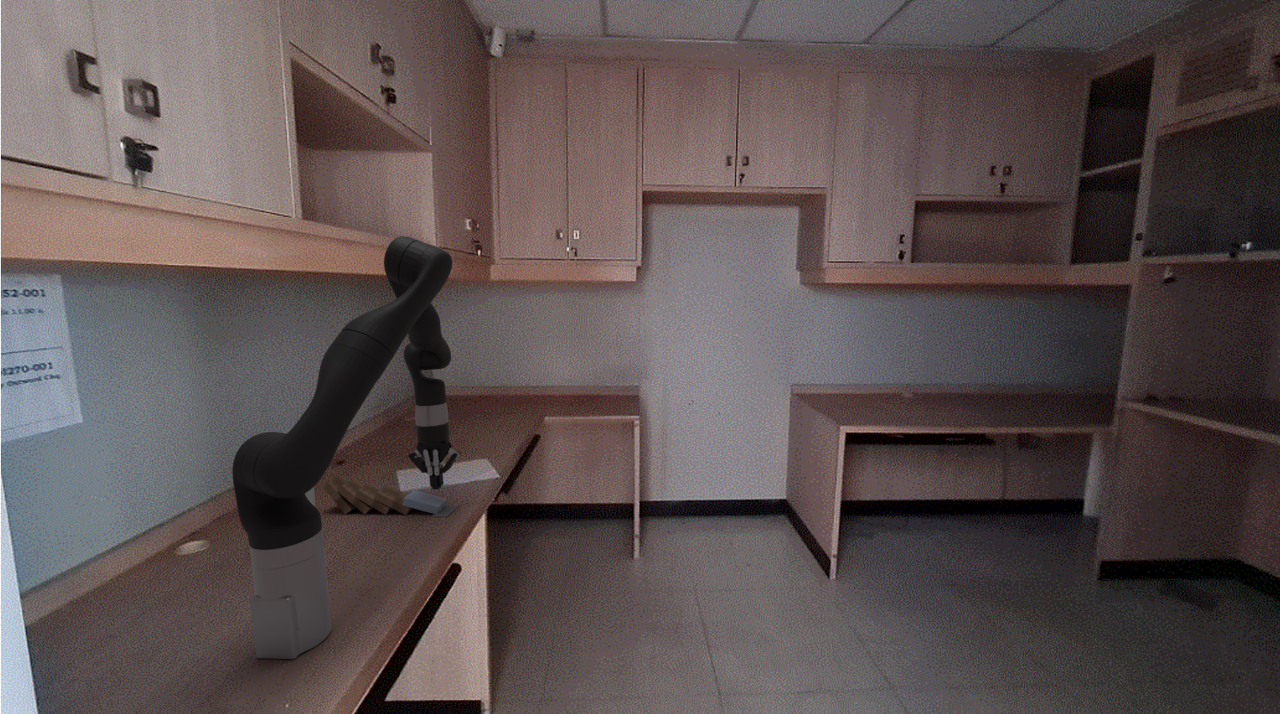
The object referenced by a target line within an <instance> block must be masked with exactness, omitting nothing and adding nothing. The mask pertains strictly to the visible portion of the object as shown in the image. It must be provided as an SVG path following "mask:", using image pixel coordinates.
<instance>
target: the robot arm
mask: <svg viewBox="0 0 1280 714" xmlns="http://www.w3.org/2000/svg"><path fill="white" fill-rule="evenodd" d="M383 268H384V269H383V270H384V273H385V276H386V277H387V278H386V279H387V281H388V283H389V285H390V287H391V289H392V291H393V293H394V296H395V297H396V298H395V299H394V300H392V301H390V302H389V303H386V304H384V305H382V306H379V307H377V308H374V309H371V310H370V311H367V312H364V313H362V314H361V315H359V316H357V317H355V318H353V319H352V320H350V321H349V322H347V324H345V326H343V328H342V329H341V330H340V332H339V333H338V334H337V335H336V337H335V338H334V340H333V341H332V342H331V344H330V345H329V347H328V348H327V349H326V351H325V352H324V354H323V357H322V359H321V361H320V366H319V370H318V376H317V381H316V382H317V383H316V387H315V388H316V389H315V392H314V395H313V397H312V399H311V402H309V405H308V406H307V407H306V409H305V411H304V412H303V414H301V416H300V418H299V419H298V420H297V422H296V423H295V424H294V425H293V427H292V428H291V429H290V430H289V431H288V432H287V433H286V432H280V431H279V432H278V431H267V432H261V433H257V434H256V435H253V436H251V437H249V438H248V439H246V440H245V441H244V442H243V443H242V444H241V445H240V447H239V448H238V450H237V451H236V453H235V455H234V458H233V463H232V472H231V474H232V483H233V489H234V496H235V501H236V507H237V511H238V513H237V514H238V517H239V518H238V519H239V522H240V524H241V527H242V528H243V530H244V531H245V533H246V536H247V539H248V545H249V555H250V563H251V571H252V579H253V588H254V596H252V597H251V598H250V599H249V606H250V607H249V608H250V614H251V623H252V625H251V626H252V630H253V631H252V632H253V639H254V646H255V647H254V648H255V657H256V659H275V660H276V659H280V660H284V659H286V660H295V659H297V657H299V655H301V654H302V653H304V652H308V651H309V650H311V649H313V648H315V647H316V646H318V645H320V644H321V643H322V642H323V641H324V640H325V639H327V637H328V636H329V635H330V633H331V632H332V629H333V627H332V617H331V615H332V614H331V607H330V597H329V595H330V594H329V585H328V576H327V575H328V574H327V567H326V566H327V564H326V556H325V545H324V544H325V542H324V533H323V524H322V517H321V516H322V515H321V512H320V511H319V509H318V508H317V507H316V505H315V506H314V505H313V504H312V503H311V502H310V501H309V500H308V498H307V497H306V495H305V493H307V492H308V491H310V490H311V489H312V488H313V487H314V488H315V487H316V485H317V484H318V483H319V482H320V481H321V479H322V478H323V476H324V475H325V473H326V471H327V469H328V468H329V466H330V464H331V462H332V460H333V459H334V458H333V457H335V454H336V452H337V451H338V448H339V446H340V445H341V442H342V440H343V438H344V437H345V435H346V433H347V431H348V429H349V427H350V425H351V423H352V422H353V420H354V418H355V417H356V415H357V414H358V413H359V410H360V409H361V407H362V406H363V405H364V402H365V401H366V399H367V398H368V396H369V394H370V392H371V391H372V390H373V389H374V387H375V385H376V384H377V382H378V381H379V380H380V378H381V377H382V375H383V374H384V372H385V371H386V369H387V367H388V366H389V365H390V363H391V362H392V360H393V359H394V357H395V355H396V354H397V352H398V350H399V349H400V346H401V345H402V343H403V342H404V340H405V338H406V337H408V340H409V343H407V345H405V348H403V349H404V350H403V359H404V362H405V365H406V368H407V369H408V371H409V375H410V378H411V380H412V384H413V391H414V399H415V402H414V403H415V413H414V414H415V415H414V417H415V419H414V420H415V430H416V441H417V444H416V449H415V450H414V451H411V453H409V454H408V458H409V460H410V461H411V462H412V463H413V464H414V465H415V467H416V468H417V469H418V471H420V472H421V473H422V474H428V476H429V486H430V488H431V489H432V490H440V489H441V488H442V486H443V485H444V474H445V473H447V472H448V471H449V470H450V469H451V468H452V467H453V465H455V462H457V459H459V457H460V456H461V453H462V452H461V451H459V450H455V449H454V448H453V447H452V443H451V442H450V425H449V424H450V423H449V411H448V410H449V409H448V406H447V395H446V394H447V393H446V384H445V381H444V380H443V379H441V378H431V377H427V376H425V375H424V374H423V372H422V371H432V370H442V369H446V367H448V366H449V365H450V363H451V361H452V352H451V348H450V346H449V344H448V343H447V341H446V339H445V338H444V337H443V335H442V327H441V319H440V316H439V313H438V311H437V309H436V308H435V306H434V305H433V304H432V302H433V301H434V299H435V298H436V297H437V296H438V294H439V293H440V292H441V290H442V289H443V287H444V286H445V285H446V283H447V281H448V279H449V276H450V274H451V272H452V269H453V258H452V256H451V255H450V253H449V252H448V251H446V250H444V249H442V248H440V247H437V246H434V245H432V244H429V243H427V242H424V241H421V240H418V239H416V238H412V237H409V236H405V235H404V236H402V235H400V236H397V237H395V238H394V239H393V240H392V241H391V242H390V243H389V244H388V246H387V248H386V249H385V252H384V258H383ZM446 457H448V460H447V461H446V463H445V458H446Z"/></svg>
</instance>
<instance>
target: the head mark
mask: <svg viewBox="0 0 1280 714" xmlns="http://www.w3.org/2000/svg"><path fill="white" fill-rule="evenodd" d="M459 507H460V504H446V507H444V508H443V509H442V510H441V511H440V512H439V513H438V514H437V515H436V514H433V513H432V514H433V515H431V518H448V517H449V516H450V515H451V514H452V513H453V512H454V511H455V510H456V509H457V508H459Z"/></svg>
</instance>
